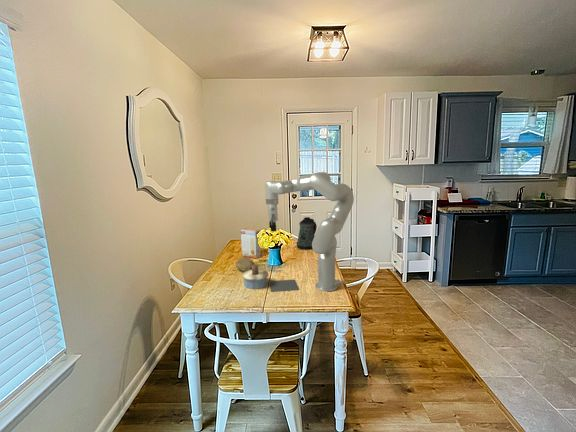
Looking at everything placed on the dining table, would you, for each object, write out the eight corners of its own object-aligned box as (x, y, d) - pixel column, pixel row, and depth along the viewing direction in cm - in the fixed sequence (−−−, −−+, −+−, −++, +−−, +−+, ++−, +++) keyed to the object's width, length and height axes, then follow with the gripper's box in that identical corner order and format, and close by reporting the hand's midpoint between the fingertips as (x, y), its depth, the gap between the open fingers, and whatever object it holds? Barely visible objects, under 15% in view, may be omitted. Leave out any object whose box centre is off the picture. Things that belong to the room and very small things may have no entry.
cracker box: (261, 256, 237) (260, 229, 234) (256, 259, 232) (255, 231, 229) (246, 254, 245) (245, 228, 241) (241, 256, 240) (240, 229, 236)
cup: (265, 280, 190) (265, 271, 189) (267, 288, 178) (267, 278, 177) (244, 281, 189) (243, 272, 188) (244, 290, 176) (244, 280, 175)
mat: (294, 280, 190) (294, 279, 190) (299, 290, 175) (299, 289, 175) (268, 281, 188) (268, 281, 188) (270, 292, 173) (270, 291, 172)
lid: (267, 270, 190) (266, 260, 189) (269, 279, 176) (269, 269, 175) (242, 271, 188) (241, 262, 187) (242, 281, 174) (241, 270, 173)
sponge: (238, 266, 222) (230, 269, 202) (241, 255, 222) (232, 257, 202) (256, 270, 220) (249, 274, 200) (258, 259, 220) (252, 262, 200)
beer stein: (294, 249, 257) (294, 219, 252) (300, 243, 275) (299, 215, 271) (314, 250, 252) (314, 220, 248) (318, 244, 270) (318, 215, 266)
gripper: (280, 203, 180) (280, 232, 183) (276, 199, 197) (277, 226, 200) (267, 203, 179) (267, 233, 182) (264, 200, 196) (265, 227, 199)
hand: (272, 229), depth 191 cm, fingers open, 9 cm apart
